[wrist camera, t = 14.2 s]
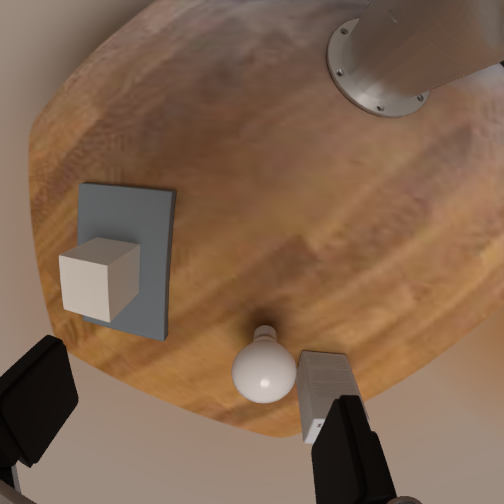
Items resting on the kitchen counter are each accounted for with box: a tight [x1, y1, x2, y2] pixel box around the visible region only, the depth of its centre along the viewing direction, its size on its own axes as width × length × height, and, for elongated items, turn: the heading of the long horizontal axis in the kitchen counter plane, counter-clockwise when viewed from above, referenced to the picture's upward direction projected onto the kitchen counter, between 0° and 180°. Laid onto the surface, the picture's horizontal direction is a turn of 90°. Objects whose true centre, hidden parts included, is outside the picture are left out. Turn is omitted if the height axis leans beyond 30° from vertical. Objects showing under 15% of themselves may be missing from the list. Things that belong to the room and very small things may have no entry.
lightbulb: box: [231, 325, 297, 403], centre depth 30 cm, size 6×6×11 cm
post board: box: [78, 183, 176, 341], centre depth 30 cm, size 18×12×8 cm, turn 172°
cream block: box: [59, 237, 140, 323], centre depth 28 cm, size 6×6×8 cm
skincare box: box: [296, 351, 369, 444], centre depth 30 cm, size 6×4×12 cm
